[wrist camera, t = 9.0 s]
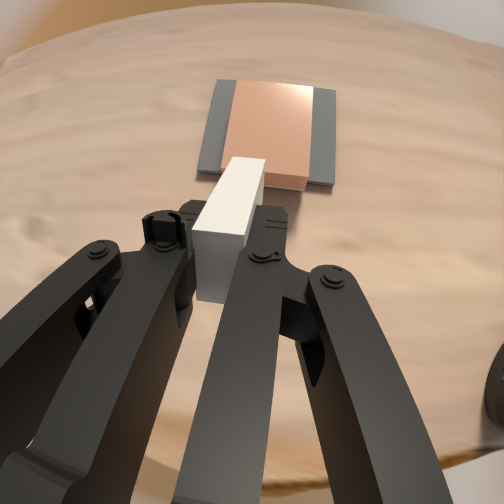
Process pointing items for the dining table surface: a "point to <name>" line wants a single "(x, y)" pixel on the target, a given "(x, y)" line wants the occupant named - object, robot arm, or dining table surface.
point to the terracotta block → (272, 130)
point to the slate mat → (320, 133)
